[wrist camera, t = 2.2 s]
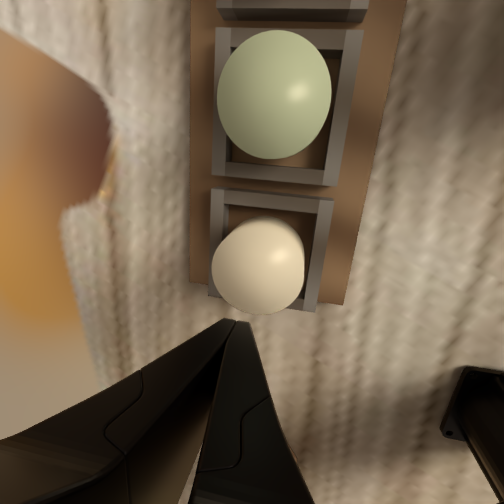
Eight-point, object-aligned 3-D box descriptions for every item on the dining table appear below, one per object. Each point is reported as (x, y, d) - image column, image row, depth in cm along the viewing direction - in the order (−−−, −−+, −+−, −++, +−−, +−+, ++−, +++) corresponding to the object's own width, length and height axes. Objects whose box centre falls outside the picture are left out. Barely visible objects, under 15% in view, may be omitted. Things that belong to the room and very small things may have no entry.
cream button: (298, 295, 18) (297, 321, 15) (224, 284, 18) (210, 307, 16) (309, 220, 16) (310, 234, 13) (228, 211, 17) (212, 222, 14)
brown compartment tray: (340, 298, 20) (345, 317, 18) (195, 276, 22) (181, 291, 20) (434, -160, 13) (464, -234, 10) (200, -143, 14) (178, -204, 12)
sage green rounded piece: (318, 162, 15) (321, 163, 12) (231, 155, 16) (214, 154, 13) (334, 56, 14) (341, 31, 11) (236, 54, 14) (219, 28, 11)
